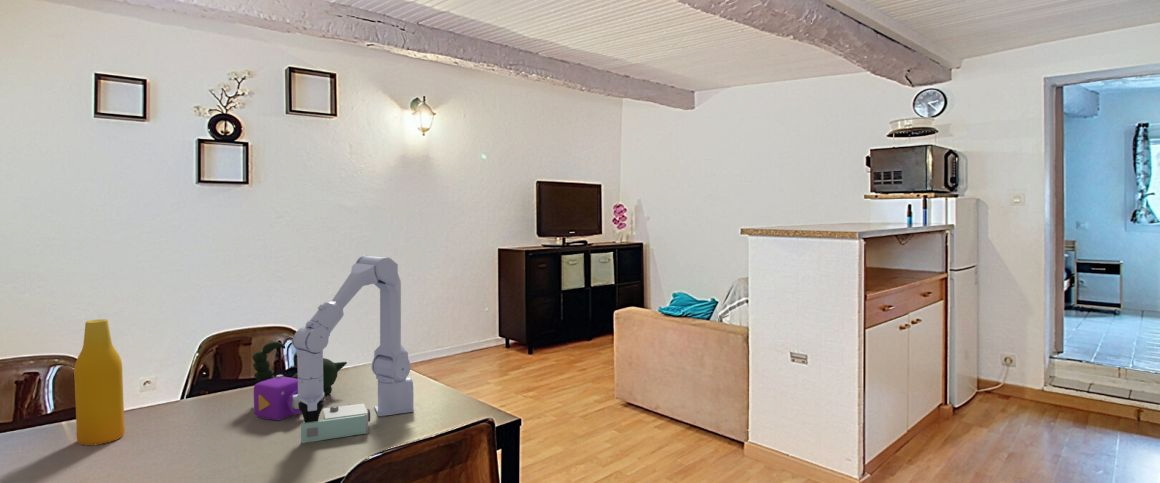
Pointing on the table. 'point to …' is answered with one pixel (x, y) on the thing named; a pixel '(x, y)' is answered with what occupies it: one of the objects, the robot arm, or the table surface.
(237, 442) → the table surface
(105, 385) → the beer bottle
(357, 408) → the block
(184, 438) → the table surface
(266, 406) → the toy camera
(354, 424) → the side door
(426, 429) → the table surface
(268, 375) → the toy figurine
